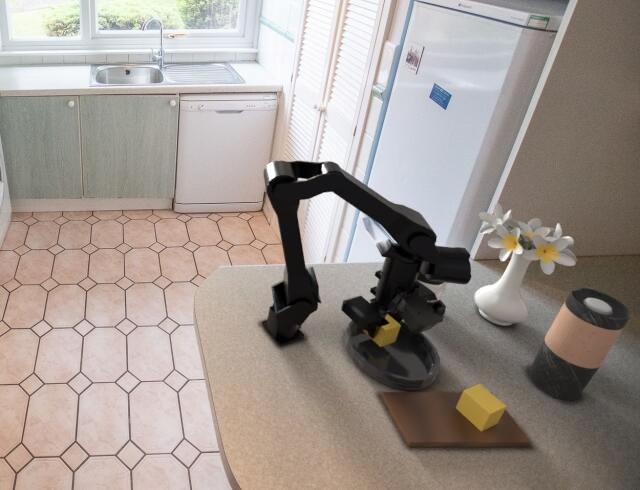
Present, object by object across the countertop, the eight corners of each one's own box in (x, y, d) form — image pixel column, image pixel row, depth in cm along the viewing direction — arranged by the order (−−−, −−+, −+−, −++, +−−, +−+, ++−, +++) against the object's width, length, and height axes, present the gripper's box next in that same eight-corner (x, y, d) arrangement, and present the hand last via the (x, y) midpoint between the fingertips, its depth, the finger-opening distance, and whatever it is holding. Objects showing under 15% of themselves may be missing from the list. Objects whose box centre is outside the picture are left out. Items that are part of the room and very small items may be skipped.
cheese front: (481, 431, 75) (490, 414, 74) (455, 407, 79) (463, 390, 77) (497, 423, 77) (506, 406, 75) (471, 400, 81) (479, 383, 79)
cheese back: (380, 347, 90) (385, 330, 88) (362, 330, 94) (367, 314, 92) (395, 341, 91) (401, 325, 89) (377, 325, 95) (382, 309, 93)
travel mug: (585, 409, 80) (639, 326, 72) (530, 389, 84) (575, 307, 75) (575, 377, 86) (623, 297, 78) (524, 359, 90) (565, 281, 81)
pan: (391, 403, 81) (395, 391, 80) (326, 336, 95) (329, 324, 94) (455, 376, 86) (460, 364, 85) (385, 316, 100) (388, 305, 99)
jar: (421, 324, 98) (438, 281, 93) (385, 301, 104) (398, 260, 99) (442, 307, 102) (458, 265, 97) (405, 286, 109) (419, 246, 103)
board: (407, 446, 74) (409, 442, 74) (380, 396, 83) (381, 392, 82) (528, 446, 74) (531, 442, 74) (489, 396, 83) (491, 391, 82)
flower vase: (478, 281, 110) (515, 193, 100) (557, 341, 94) (612, 243, 83) (433, 289, 108) (466, 199, 97) (506, 352, 91) (555, 252, 81)
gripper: (398, 317, 76) (376, 381, 82) (475, 290, 82) (449, 352, 88) (347, 274, 85) (331, 335, 92) (420, 253, 91) (400, 311, 98)
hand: (379, 334), depth 92 cm, fingers closed on cheese back, 4 cm apart
